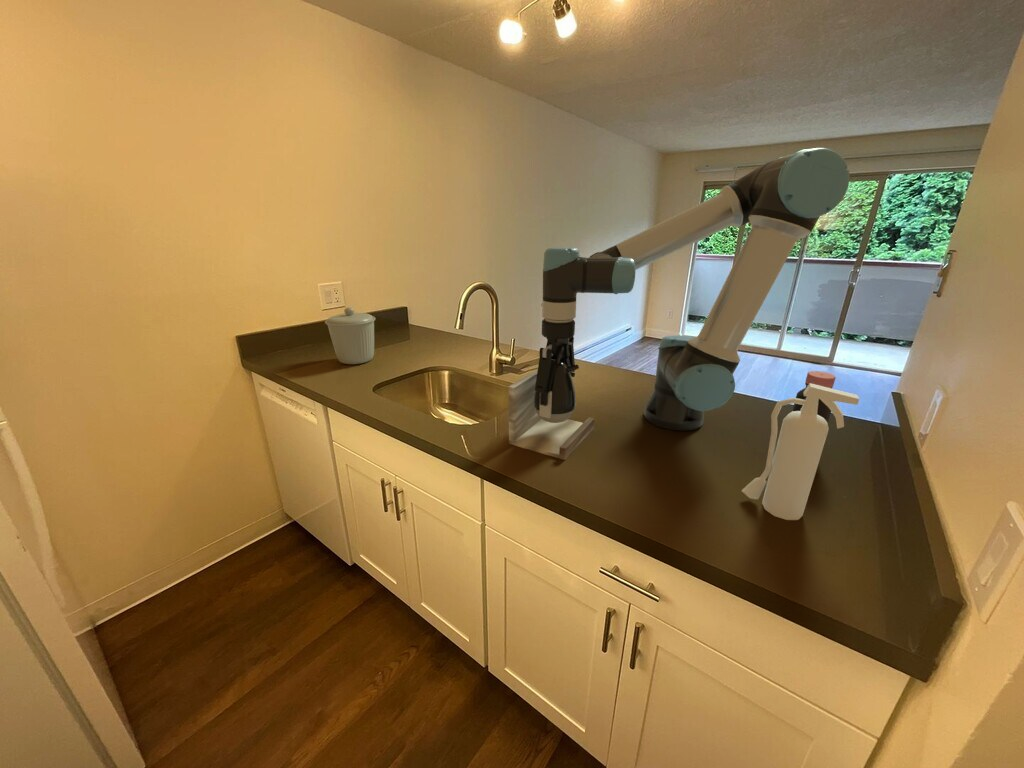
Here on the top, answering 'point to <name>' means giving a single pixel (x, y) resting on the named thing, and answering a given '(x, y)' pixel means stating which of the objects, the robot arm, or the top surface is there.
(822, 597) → the top surface
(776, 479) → the fire extinguisher
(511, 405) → the ledge rack
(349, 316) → the canister
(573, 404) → the pump dispenser
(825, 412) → the vinegar
